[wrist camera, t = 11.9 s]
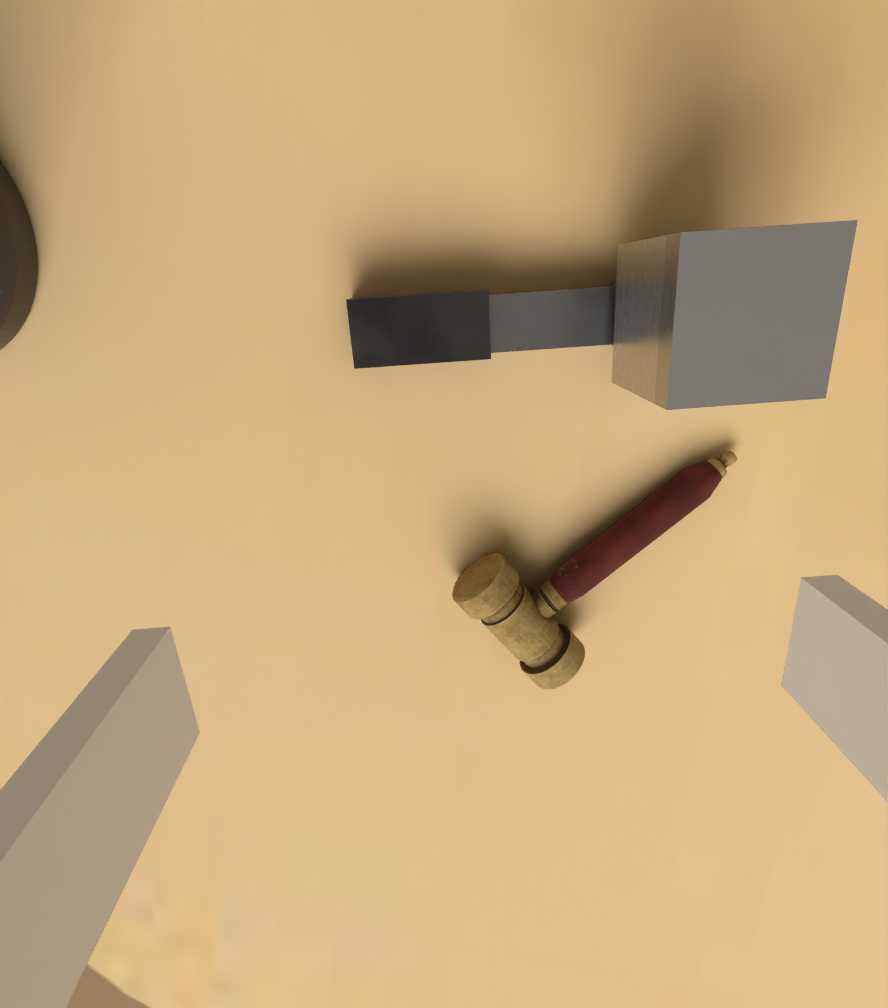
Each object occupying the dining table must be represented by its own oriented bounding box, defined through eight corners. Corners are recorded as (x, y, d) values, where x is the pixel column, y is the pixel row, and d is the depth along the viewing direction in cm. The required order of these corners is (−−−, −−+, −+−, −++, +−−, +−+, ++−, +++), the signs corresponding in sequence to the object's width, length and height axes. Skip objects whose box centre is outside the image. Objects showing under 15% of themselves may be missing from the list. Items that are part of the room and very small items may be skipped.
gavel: (715, 402, 35) (791, 516, 38) (679, 392, 39) (750, 495, 42) (454, 611, 38) (543, 702, 41) (447, 581, 42) (529, 664, 45)
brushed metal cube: (611, 382, 34) (666, 409, 26) (617, 244, 31) (680, 232, 24) (736, 373, 34) (825, 398, 27) (752, 235, 31) (857, 220, 24)
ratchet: (362, 387, 36) (347, 414, 29) (348, 269, 34) (328, 265, 26) (709, 363, 37) (783, 383, 29) (721, 244, 34) (806, 233, 27)
